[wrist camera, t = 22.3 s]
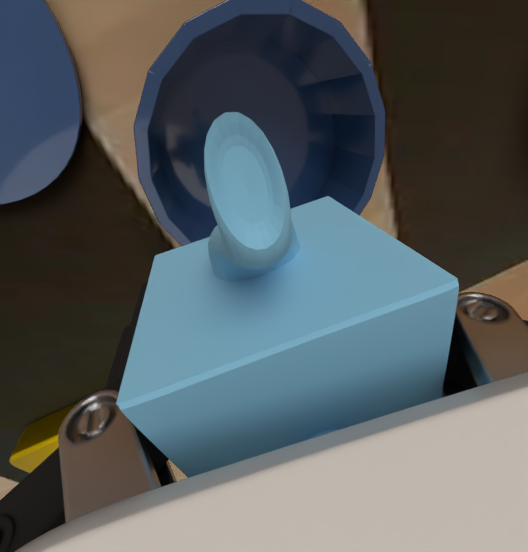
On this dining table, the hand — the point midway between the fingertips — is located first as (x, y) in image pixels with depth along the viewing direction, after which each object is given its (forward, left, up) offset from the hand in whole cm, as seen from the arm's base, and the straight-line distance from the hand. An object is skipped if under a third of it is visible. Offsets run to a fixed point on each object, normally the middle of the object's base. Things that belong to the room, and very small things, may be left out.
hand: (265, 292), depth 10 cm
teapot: (0, 0, -1) cm, 1 cm away
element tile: (-32, +25, -19) cm, 45 cm away
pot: (+2, -3, -19) cm, 20 cm away
